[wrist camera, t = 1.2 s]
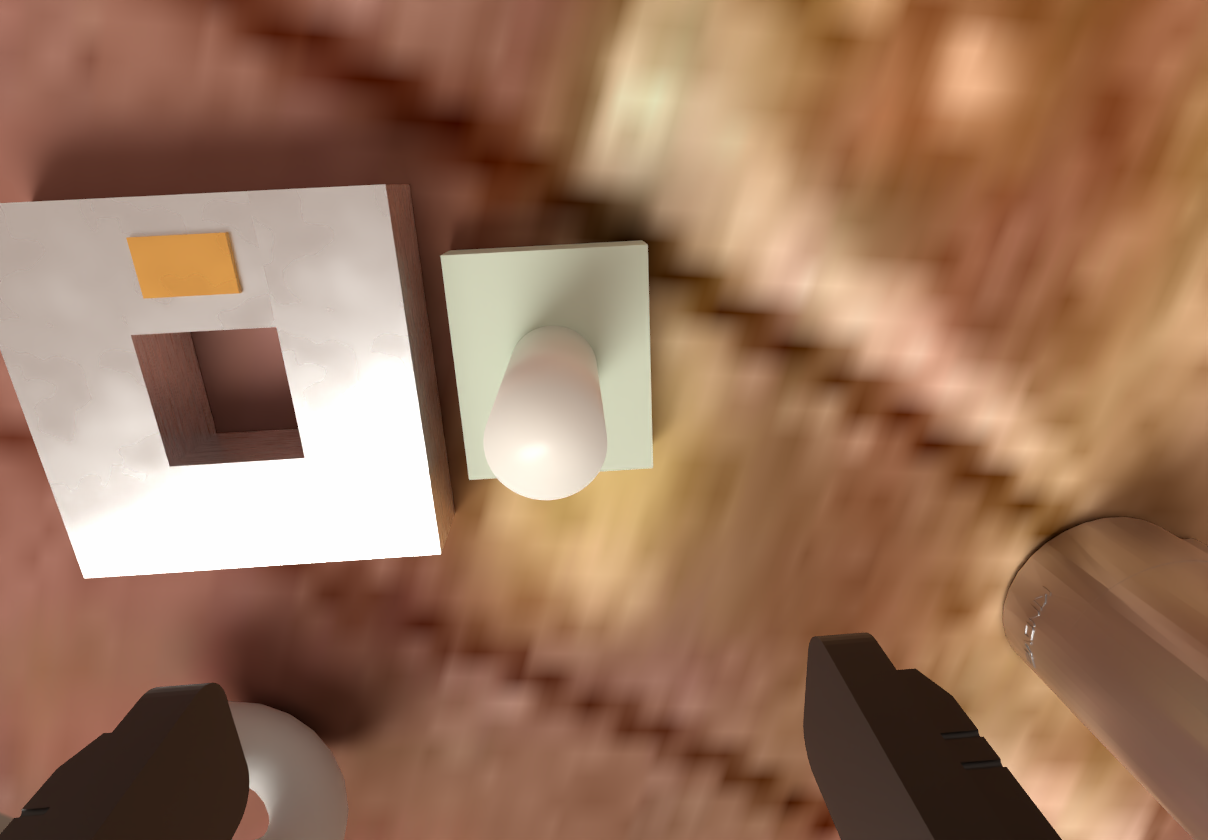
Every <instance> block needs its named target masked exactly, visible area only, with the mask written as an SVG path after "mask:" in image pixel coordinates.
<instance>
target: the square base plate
mask: <svg viewBox="0 0 1208 840" xmlns="http://www.w3.org/2000/svg"><path fill="white" fill-rule="evenodd" d="M440 257H441V265H442V272H443V280H444V288H445V296H446V304H447V311H448V319H449V327H450V335H451V343H452V351H453V358H454V366H455V374H456V382H457V390H458V397H459V405H460V413H461V421H462V429H463V436H464V444H465V452H466V460H467V468H468V475H469V480H475V479H491V478H497V477H496V476H495V475H494V473H493V472H492V470H491V469H490V467H489V465H488V463H487V460H486V457H485V452H484V444H483V439H484V431H485V427H486V424H487V421H488V418H489V415H490V413H491V410H492V407H493V404H494V402H495V399H496V396H497V393H498V391H499V388H500V385H501V382H502V380H503V377H504V374H505V371H506V369H507V366H508V363H509V360H510V358H511V355H512V352H513V350H514V348H515V346H516V345H517V343H518V342H519V341H520V340H521V339H522V338H523V337H524V336H525V335H526V334H527V333H529V332H531V331H532V330H534V329H537V328H540V327H544V326H562V327H566V328H569V329H571V330H573V331H575V332H577V333H578V334H580V335H581V336H582V337H583V338H584V339H585V340H586V341H587V342H588V343H589V344H590V346H591V348H592V349H593V352H594V354H595V357H596V361H597V368H598V375H599V383H600V390H601V397H602V404H603V411H604V418H605V425H606V432H607V453H606V457H605V461H604V463H603V466H602V468H601V470H600V471H615V470H631V469H646V468H653V445H652V402H651V359H650V317H649V274H648V244H646V243H645V242H644V241H642V240H638V241H619V242H600V243H581V244H562V245H543V246H524V247H505V248H486V249H467V250H450V251H448V252H446V253H444V254H442V255H440ZM600 471H599V472H600Z"/></svg>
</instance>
